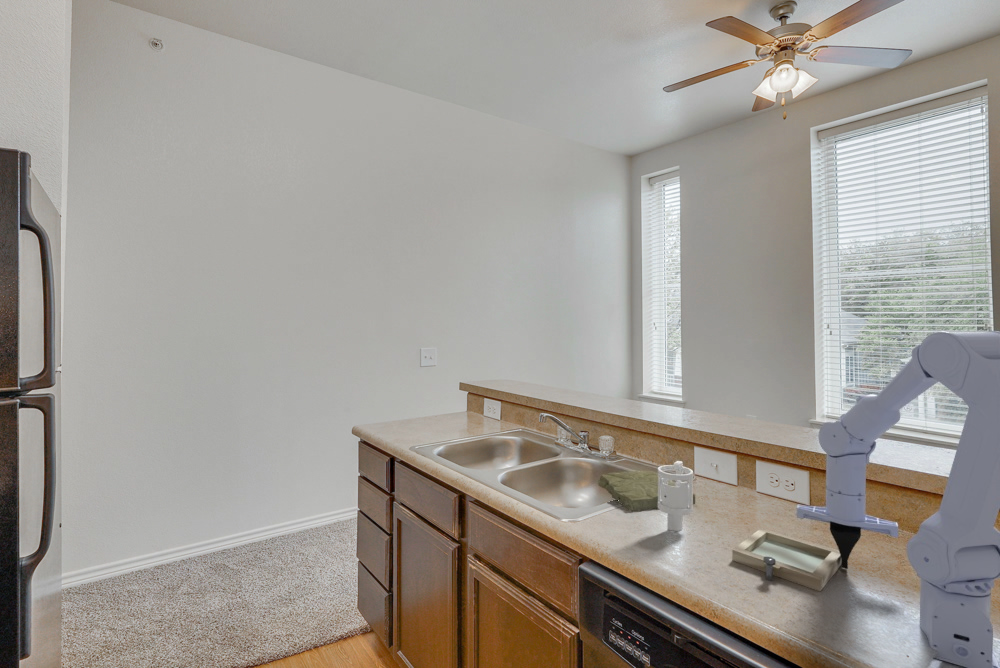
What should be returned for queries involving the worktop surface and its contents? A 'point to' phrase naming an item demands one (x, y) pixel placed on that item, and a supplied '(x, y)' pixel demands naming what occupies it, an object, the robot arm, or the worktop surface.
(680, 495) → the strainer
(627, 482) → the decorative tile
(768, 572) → the knob
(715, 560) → the worktop surface
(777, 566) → the picture frame
